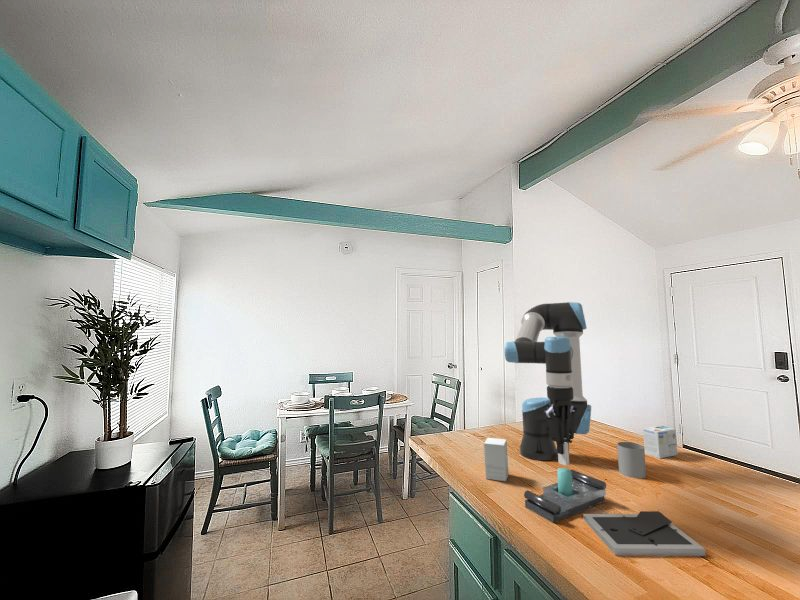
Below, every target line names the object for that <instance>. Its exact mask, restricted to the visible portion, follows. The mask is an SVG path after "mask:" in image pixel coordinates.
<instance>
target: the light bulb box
mask: <svg viewBox="0 0 800 600" xmlns="http://www.w3.org/2000/svg"><path fill="white" fill-rule="evenodd" d="M642 431H643V433H642V434H643V443H644V444H643V445H644V452H645V454H646V455H648V456H651V457H654V458H658V459H663V458H668V457H669V458H670V457H673V456H678V444H677V430H676V428H673V427H668V426H664V425H654V426H648V427H643V428H642Z"/></svg>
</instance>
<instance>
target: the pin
mask: <svg viewBox="0 0 800 600" xmlns="http://www.w3.org/2000/svg"><path fill="white" fill-rule="evenodd" d="M571 470H572V469H569V468H564V467H559V468H556V474H557V483H558V493H561V494H563V495H565V496H567V497H568V496H571V495H573V490H572V472H571Z"/></svg>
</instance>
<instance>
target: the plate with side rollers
mask: <svg viewBox="0 0 800 600" xmlns="http://www.w3.org/2000/svg"><path fill="white" fill-rule="evenodd" d="M570 470H571V472H572V490H573V495H571V496H568V497H567V496H565V495H563V494H561V493H558V482H555V483H553V484H549V485H547V486H543V487H542V492H543V493H542V494H539V495H538V494H536V493H535V492H532V491H530V490H528V489H527V490H525V491H524V492H523V493H524V494H523V495H524V496H523V497H524V498H525V500H524V506H525V507H524V508H525V509H527V510H529V511H530V512H531V511H532V512H533V513H535V514H537V515H538V516H540V517H542V518H544V519H545V520H546V521H549V522H551V523H553V524H555V523H557V522H559V521H561V520H564V519H567V518H569V517H572V516H574V515H577V514H581V513H582V512H584V511H587V510H589V509H591V507H594V506H596V505H598V504H601V503H604V502H605V501H606V500H605V497H606V495H607V494H606V493H607V491H606V490H607V483H606V482H605V480H604V481H603V480H601V479H598V478H595V477H593V476H590V475H588V474H585V473H582V472H581V471H577V470H574V469H570Z"/></svg>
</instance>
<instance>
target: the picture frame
mask: <svg viewBox="0 0 800 600" xmlns="http://www.w3.org/2000/svg"><path fill="white" fill-rule="evenodd" d="M583 521H584V522H585V523H586V524H587V525H588V527H590V529H591V530H592V531H593V532H594V534H595V535H596V536H597V537H598V538H599V539H600V540H601V541H602V542H603V543H604V544H605V546H606V547H607V548H608V549H609V551H611V552H612V554H613V553H614V554H615V555H614V554H613V555H614V556H636V555H651V556H653V557H654V556H657V557H659V556H660V557H661V556H662V557H663V556H664V557H666V556H667V557H672V556H673V557H706V556H707V554H706V548H705V547H703V546H702V545H700V544H699V543H698V542H697V541H695V540H694V539H692V538H691V537H690V536H689V535H687V533H685V532H683V531H682V530H681V529H679V528H678V527H677V526H675V525H674V524H673V523H672V522H673V521H672V520H671V519H669V518H668V517H667V516H665V515H664V514H663V513H662V512H660V511H659V510H657V511H656V510H653V511H651V510H650V511H646V510H645V511H642V510H641V511H639V513H632V514H631V513H583ZM651 556H650V557H651Z"/></svg>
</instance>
